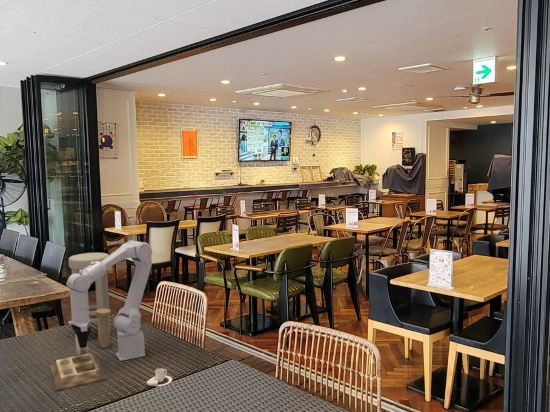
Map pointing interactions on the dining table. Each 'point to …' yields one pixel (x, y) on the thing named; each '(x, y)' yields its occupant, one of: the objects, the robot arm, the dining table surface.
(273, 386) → the dining table surface
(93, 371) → the socket block
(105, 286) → the stool
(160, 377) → the teacup and saucer
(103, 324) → the handle
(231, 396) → the dining table surface
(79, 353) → the peg
